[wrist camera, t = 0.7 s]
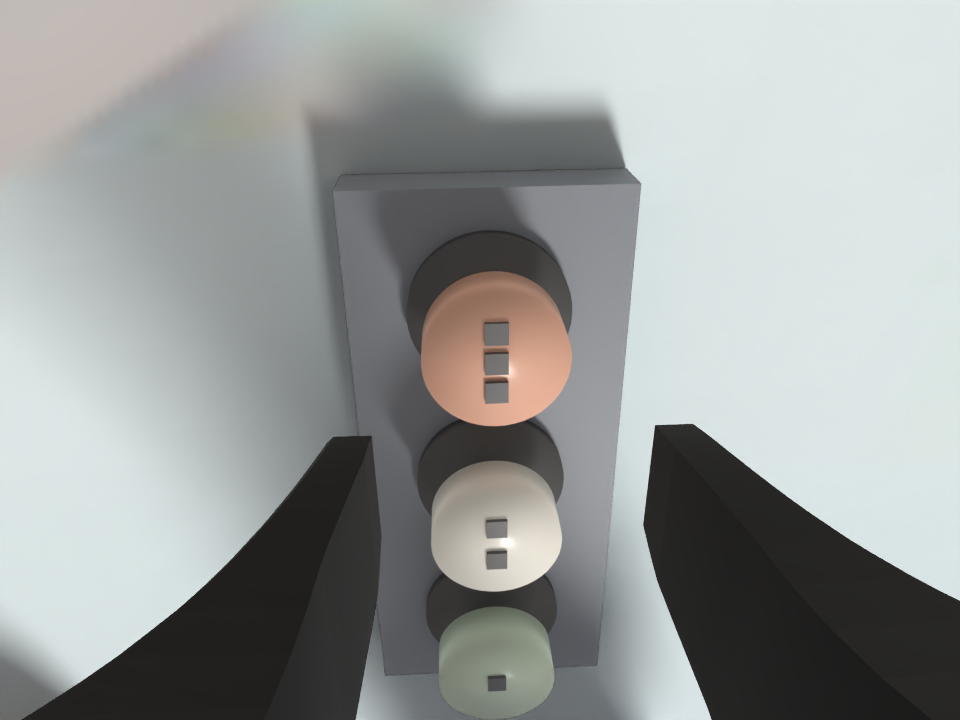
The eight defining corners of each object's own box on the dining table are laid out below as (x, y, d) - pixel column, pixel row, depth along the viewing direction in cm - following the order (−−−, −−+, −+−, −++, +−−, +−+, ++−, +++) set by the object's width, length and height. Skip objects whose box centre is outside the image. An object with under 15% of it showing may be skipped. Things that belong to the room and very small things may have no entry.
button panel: (589, 629, 25) (599, 676, 24) (388, 638, 25) (384, 686, 23) (626, 168, 18) (645, 188, 16) (340, 175, 18) (330, 195, 16)
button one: (547, 681, 22) (553, 720, 21) (441, 686, 22) (440, 725, 21) (550, 604, 20) (557, 641, 19) (436, 609, 20) (436, 647, 19)
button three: (560, 396, 17) (568, 426, 16) (425, 400, 17) (424, 431, 16) (566, 268, 16) (576, 291, 15) (418, 273, 16) (416, 296, 14)
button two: (553, 555, 20) (559, 591, 18) (434, 560, 19) (434, 597, 18) (557, 458, 18) (565, 490, 17) (429, 463, 18) (427, 496, 17)
